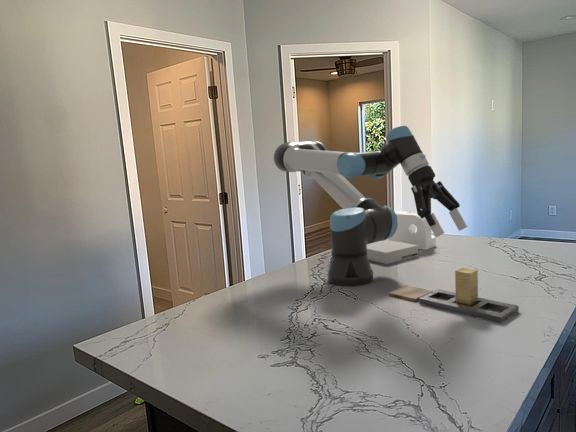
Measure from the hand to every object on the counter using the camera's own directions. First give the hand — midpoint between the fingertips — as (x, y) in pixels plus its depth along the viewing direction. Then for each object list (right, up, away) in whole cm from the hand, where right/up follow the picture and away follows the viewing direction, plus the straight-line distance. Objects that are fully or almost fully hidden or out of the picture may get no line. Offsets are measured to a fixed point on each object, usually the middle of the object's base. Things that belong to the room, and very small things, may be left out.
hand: (452, 232), depth 130 cm
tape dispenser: (+7, -8, +62) cm, 63 cm away
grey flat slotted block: (-2, -19, -14) cm, 24 cm away
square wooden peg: (-2, -19, -14) cm, 24 cm away
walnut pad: (-13, -18, -2) cm, 22 cm away
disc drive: (-11, -12, +48) cm, 50 cm away
